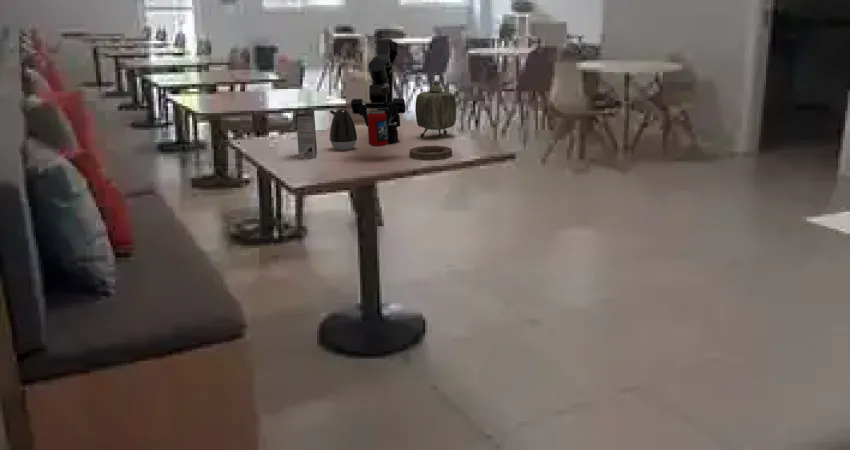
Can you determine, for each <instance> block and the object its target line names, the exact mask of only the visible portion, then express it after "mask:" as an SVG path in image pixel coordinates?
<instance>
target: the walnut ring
mask: <svg viewBox="0 0 850 450" xmlns="http://www.w3.org/2000/svg"><path fill="white" fill-rule="evenodd" d="M451 157H453V149H452V147H449V146H445V145H443V146H442V145H423V146H415V147H412V148H410V149H409V158H411V159H414V160H419V161H420V160H421V161H437V160H438V161H439V160H445V159H449V158H451Z"/></svg>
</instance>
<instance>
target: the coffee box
mask: <svg viewBox="0 0 850 450" xmlns="http://www.w3.org/2000/svg"><path fill="white" fill-rule="evenodd" d="M315 117H316V116H315V110H314V109H310V110H309V109H302V110H301V109H299V110H296V113H295V121H296V133H297V134H296V135H297V136H296V137H297V149H298V151H297V152H298V159H299V160H302V159H301V158H310V159H316V158H317V155H318V148H317V134H316V133H317V132H316V131H317V130H316V118H315Z"/></svg>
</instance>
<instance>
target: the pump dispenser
mask: <svg viewBox="0 0 850 450" xmlns="http://www.w3.org/2000/svg"><path fill="white" fill-rule="evenodd" d="M329 113H330V114H331V115H332V117H333V118H332V120H331V123H330V129H329V130H330V131H329V142H330V143H331V145H332V147H333V148H334V149H335V150H337V151H348V150H351V149H354V147H355V145H356V143H357V140H358V134H357V130H356V129H357V128H356V125H355V122H354V120H353V119H354V118H353V117H352V115H351V113H350V112H349V110H348V109H345V108H339V109H337V110H336V111H335V110H332V109H330V110H329Z"/></svg>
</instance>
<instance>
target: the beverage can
mask: <svg viewBox="0 0 850 450" xmlns="http://www.w3.org/2000/svg"><path fill="white" fill-rule="evenodd" d="M367 135H368V145H370V146H372V147H374V148H375V147H385V146H386V145H387V144H388V131H387V115H386V113H385V111H384V110H377V109H373V110H369V112H368V127H367Z"/></svg>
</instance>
